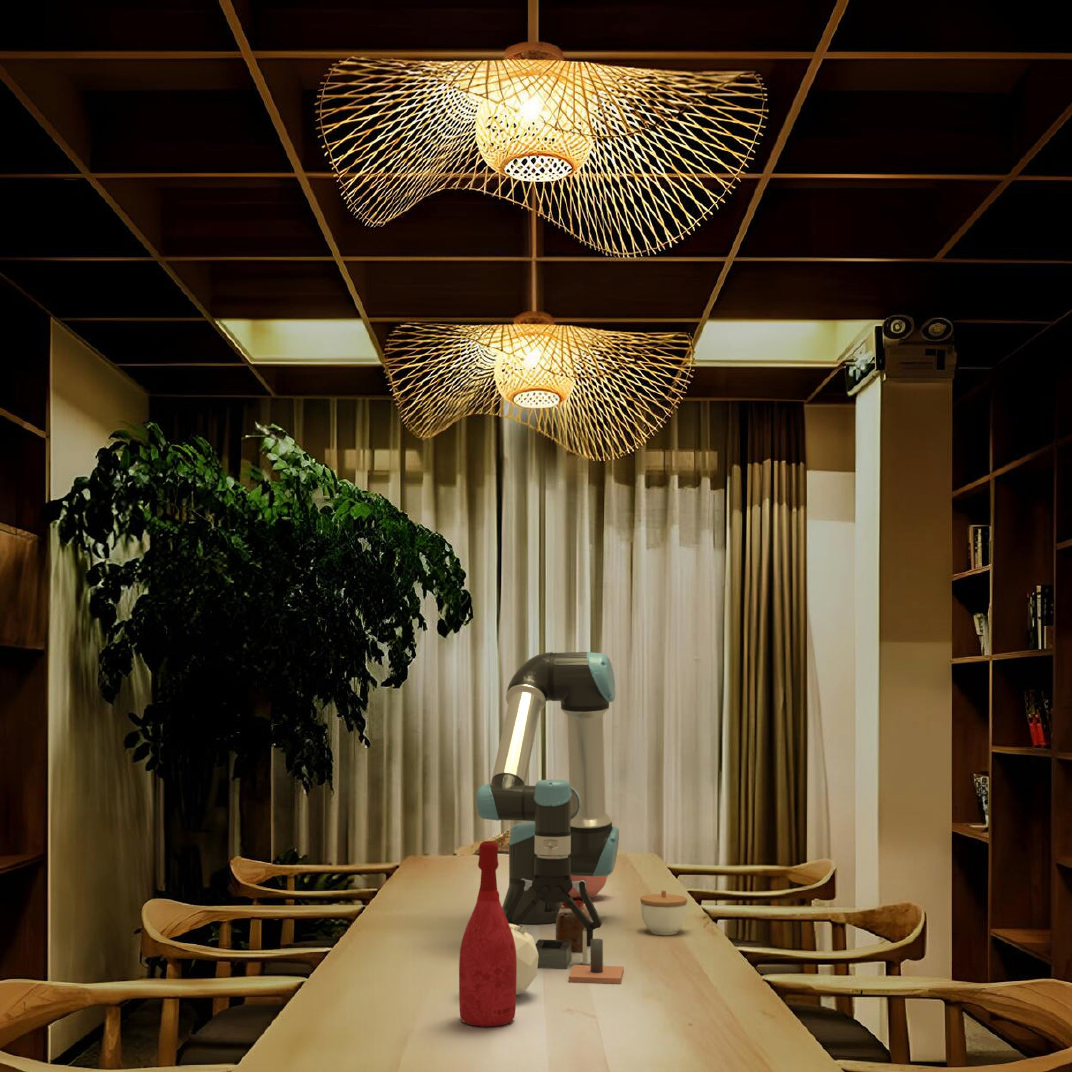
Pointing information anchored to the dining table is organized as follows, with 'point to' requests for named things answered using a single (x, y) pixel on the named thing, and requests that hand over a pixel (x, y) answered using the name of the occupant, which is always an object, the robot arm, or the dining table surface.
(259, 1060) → the dining table surface
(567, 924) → the food item
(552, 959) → the grey hollow block
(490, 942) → the wine bottle
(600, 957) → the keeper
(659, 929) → the lidded jar
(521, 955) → the geodesic sphere
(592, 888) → the cell model
